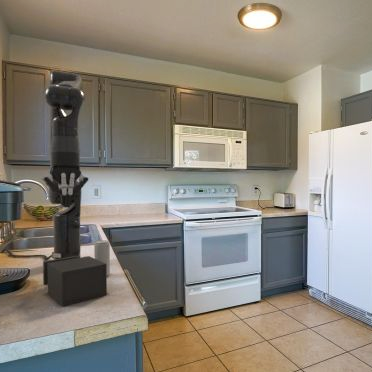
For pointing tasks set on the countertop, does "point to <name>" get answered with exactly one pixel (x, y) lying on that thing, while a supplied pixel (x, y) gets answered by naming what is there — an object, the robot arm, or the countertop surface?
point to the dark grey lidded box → (76, 280)
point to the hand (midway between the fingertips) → (66, 207)
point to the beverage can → (103, 253)
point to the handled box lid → (45, 273)
